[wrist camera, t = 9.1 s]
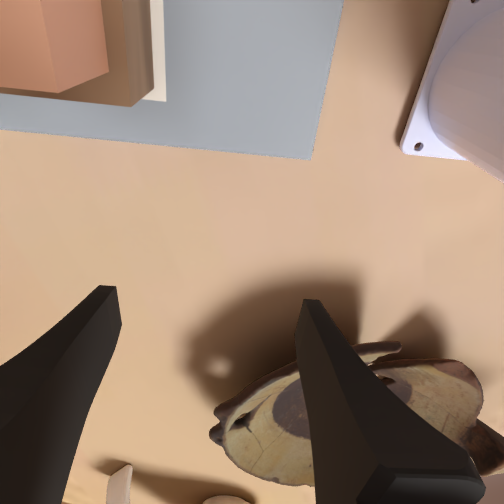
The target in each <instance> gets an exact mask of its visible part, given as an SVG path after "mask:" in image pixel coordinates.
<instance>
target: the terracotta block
mask: <svg viewBox="0 0 504 504" xmlns="http://www.w3.org/2000/svg"><path fill="white" fill-rule="evenodd" d="M108 72H109V67H108V58H107V50H106V41H105V32H104V24H103V15H102V7H101V0H0V87H6V88H16V89H25V90H35V91H44V92H53V93H60V92H62V91H64V90H67V89H69V88H72V87H74V86H76V85H79V84H81V83H84V82H86V81H88V80H91V79H93V78H96V77H98V76H100V75H103V74H105V73H108Z"/></svg>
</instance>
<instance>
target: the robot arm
mask: <svg viewBox="0 0 504 504" xmlns="http://www.w3.org/2000/svg"><path fill="white" fill-rule="evenodd" d="M419 142H420V143H421V144H420V147H419V148H417V149H414V146H415V145H416V144H417V143H419ZM399 147H400V150H401V151H402V152H403V153H405V154H409V155H419V156H429V157H438V158H448V159H458V160H468V161H470V162H471V163H473V164H474V165H476V166H477V167H479V168H481V169H482V170H484V171H485V172H487V173H488V174H490V175H491V176H493V177H494V178H496V179H498V180H499V181H501V182H502V183H504V0H475V2H473V3H471V0H450V1H449V4H448V7H447V10H446V13H445V16H444V18H443V21H442V24H441V27H440V30H439V33H438V36H437V39H436V41H435V44H434V47H433V50H432V53H431V56H430V59H429V61H428V64H427V67H426V70H425V73H424V76H423V79H422V81H421V84H420V87H419V90H418V93H417V96H416V99H415V101H414V104H413V107H412V110H411V113H410V116H409V119H408V122H407V124H406V127H405V130H404V133H403V136H402V139H401V142H400V146H399ZM121 326H122V322H121V315H120V309H119V302H118V296H117V289H116V286H103V285H99V286H98V287H97V288H96V289H95V290H93V291H92V292H91V293H90V294H89V295H88V296H87V297H86V298H85V299H84V300H83V301H82V302H81V303H79V304H78V305H77V306H76V307H75V308H74V309H73V310H72V311H71V312H70V313H68V314H67V315H66V316H65V317H64V318H63V319H62V320H60V321H59V322H58V323H57V324H56V325H55V326H53V327H52V328H51V329H50V330H49V331H47V332H46V333H45V334H44V335H42V336H41V337H40V338H39V339H37V340H36V341H35V342H34V343H32V344H31V345H30V346H28V347H27V348H26V349H24V350H23V351H22V352H20V353H19V354H17V355H16V356H14V357H13V358H12V359H10V360H9V361H7V362H6V363H4V364H3V365H1V366H0V504H61V502H62V499H63V495H64V491H65V488H66V484H67V480H68V477H69V473H70V470H71V466H72V463H73V460H74V456H75V453H76V449H77V446H78V443H79V440H80V436H81V433H82V430H83V427H84V424H85V421H86V417H87V415H88V412H89V409H90V407H91V404H92V402H93V399H94V397H95V395H96V392H97V390H98V388H99V386H100V383H101V381H102V379H103V376H104V374H105V372H106V369H107V367H108V365H109V362H110V360H111V357H112V355H113V353H114V350H115V347H116V344H117V341H118V337H119V333H120V330H121ZM295 348H296V359H297V365H298V370H299V375H300V380H301V385H302V390H303V394H304V399H305V404H306V409H307V415H308V421H309V428H310V438H311V448H312V458H313V470H314V482H315V496H316V504H476V503H477V502H479V500H480V499H481V498H482V497H483V496H484V494H485V489H486V487H485V485H484V483H483V481H482V479H481V477H480V475H479V473H478V470H477V468H476V466H475V464H474V463H473V461H472V459H471V458H470V456H469V454H468V452H467V451H466V450H465V449H463V448H462V447H460V446H459V445H458V444H456V443H455V442H453V441H452V440H451V439H449V438H448V437H446V436H445V435H444V434H442V433H441V432H440V431H438V430H437V429H435V428H434V427H433V426H432V425H430V424H429V423H428V422H427V421H425V420H424V419H423V418H422V417H420V416H419V415H418V414H417V413H416V412H414V411H413V410H412V409H411V408H410V407H408V406H407V405H406V404H405V403H404V402H403V401H402V400H401V399H400V398H399V397H397V396H396V395H395V394H394V393H393V392H392V391H391V390H390V389H389V388H388V387H387V386H386V385H385V384H384V383H383V382H382V381H381V380H380V379H379V378H378V377H377V376H376V375H375V374H374V373H373V372H372V371H371V369H370V368H369V367H368V366H367V365H366V364H365V362H364V361H363V360H362V359H361V358H360V356H359V355H358V354H357V353H356V352H355V350H354V349H353V348H352V346H351V345H350V344H349V342H348V341H347V340H346V338H345V337H344V336H343V334H342V333H341V332H340V330H339V329H338V327H337V326H336V324H335V323H334V321H333V320H332V318H331V317H330V315H329V314H328V312H327V311H326V309H325V308H324V306H323V305H322V303H321V302H320V301H319V300H310V299H304V300H303V304H302V308H301V312H300V316H299V320H298V324H297V327H296V331H295Z"/></svg>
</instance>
